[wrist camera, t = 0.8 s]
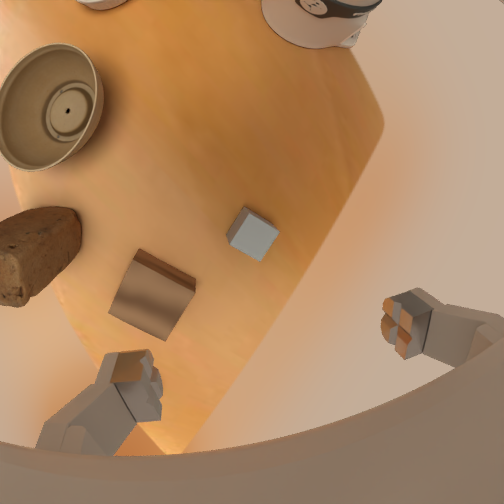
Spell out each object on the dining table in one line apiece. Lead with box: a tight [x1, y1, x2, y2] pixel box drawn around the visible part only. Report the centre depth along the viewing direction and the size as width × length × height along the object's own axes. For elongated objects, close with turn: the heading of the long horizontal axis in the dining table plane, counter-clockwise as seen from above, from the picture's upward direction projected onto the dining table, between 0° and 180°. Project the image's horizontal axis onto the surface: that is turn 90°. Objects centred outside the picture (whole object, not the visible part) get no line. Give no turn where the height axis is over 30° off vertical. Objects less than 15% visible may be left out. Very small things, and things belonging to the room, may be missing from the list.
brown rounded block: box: [0, 207, 81, 307], centre depth 30 cm, size 11×8×20 cm
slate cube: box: [226, 207, 280, 262], centre depth 42 cm, size 5×5×5 cm
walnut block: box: [108, 249, 196, 341], centre depth 43 cm, size 10×10×5 cm
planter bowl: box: [0, 43, 104, 172], centre depth 29 cm, size 16×16×11 cm
